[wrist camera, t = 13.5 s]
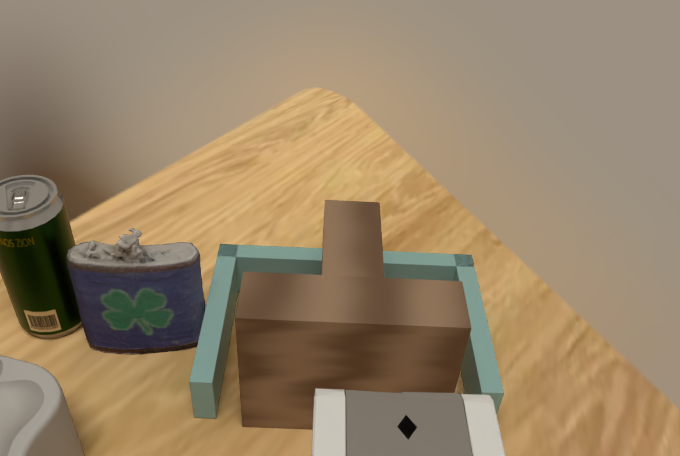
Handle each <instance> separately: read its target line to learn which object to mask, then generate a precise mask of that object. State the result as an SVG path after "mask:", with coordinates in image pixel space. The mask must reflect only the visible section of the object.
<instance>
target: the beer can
mask: <svg viewBox="0 0 680 456" xmlns="http://www.w3.org/2000/svg"><path fill="white" fill-rule="evenodd" d="M73 246H75V241H74V238H73V234H72V230H71V226H70V223H69V219H68V215H67V212H66V208H65V204H64V200H63V196H62V195H61V194H60V193H59V192H58V191H57V188H56V185H55V184H54V183H53V182H52V181H51V180H50V179H47V178H45V177H43V176H37V175H20V176H14V177H9V178H7V179H4V180H1V181H0V273H1V275H2V278H3V281H4V283H5V286H6V289H7V291H8V294H9V297H10V299H11V302H12V304H13V307H14V310H15V312H16V315H17V318H18V320H19V323H20V324H21V326H22V327H23V328H24V329H25V330H26V331H28V332H29V333H31V334H33V335H34V336H36V337H40V338H45V339H48V338H58V337H62V336H65V335H68V334H70V333H72V332H74V331H75V330H76V329H78V328H79V327H80V326H81V325H82V321H81V316H80V313H79V307H78V304H77V300H76V295H75V292H74V289H73V284H72V281H71V278H70V274H69V270H68V268H67V262H66V256H67V254H68V250H69V249H70V248H72V247H73Z"/></svg>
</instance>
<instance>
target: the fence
mask: <svg viewBox="0 0 680 456" xmlns="http://www.w3.org/2000/svg"><path fill="white" fill-rule="evenodd" d="M322 250H323V248H300V247H277V246H254V245H231V244H220V247H219V251H218V255H217V260H216V264H215V269H214V273H213V278H212V282H211V287H210V291H209V296H208V300H207V305H206V309H205V314H204V318H203V323H202V327H201V332H200V336H199V341H198V345H197V350H196V354H195V359H194V363H193V368H192V372H191V377H190V381H189V383H190V390H191V397H192V404H193V411H194V418H216V416H217V410H218V404H219V399H220V393H221V387H222V382H223V376H224V370H225V364H226V359H227V353H228V347H229V341H230V336H231V330H232V324H233V318H234V313H235V307H236V301H237V295H238V292H240V288H241V282H242V277H243V272H265V273H288V274H310V275H321V269H322ZM383 262H384V277H385V278H400V279H422V280H445V281H462V283H463V288H464V293H465V298H466V303H467V308H468V313H469V318H470V323H471V328H472V329H471V332H470V336H469V340H468V343H467V347H466V351H465V354H464V358H463V362H462V365H461V374H462V379H463V385H464V391H465V394H483V395H490V396H491V398H492V400H493V401H494V406H495V410H496V415H497V412H498V409H499V406H500V403H501V401H502V398H503V395H504V391H503V387H502V382H501V378H500V374H499V370H498V365H497V361H496V357H495V353H494V348H493V344H492V340H491V335H490V331H489V327H488V323H487V318H486V314H485V310H484V306H483V301H482V297H481V293H480V289H479V284H478V280H477V276H476V272H475V267H474V263H473V259H472V255H463V254H439V253H416V252H393V251H383Z"/></svg>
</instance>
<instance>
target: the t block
mask: <svg viewBox="0 0 680 456" xmlns="http://www.w3.org/2000/svg"><path fill="white" fill-rule="evenodd" d="M235 323H236V338H237V353H238V368H239V382H240V397H241V412H242V427H263V428H289V429H313V412H314V395H315V389H316V388H317V389H344V390H358V391H376V392H394V393H402V392H432V393H454V391H455V388H456V384H457V380H458V376H459V373H460V369H461V365H462V362H463V358H464V354H465V351H466V347H467V343H468V340H469V336H470V332H471V329H472V328H471V323H470V318H469V313H468V308H467V303H466V298H465V293H464V288H463V283H462V281H445V280H422V279H400V278H385V277H384V262H383V248H382V233H381V218H380V204H379V203H378V202H357V201H337V200H325V211H324V230H323V250H322V269H321V275H310V274H288V273H265V272H243V277H242V282H241V288H240V294H239V299H238V305H237V310H236V316H235Z"/></svg>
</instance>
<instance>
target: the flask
mask: <svg viewBox="0 0 680 456" xmlns="http://www.w3.org/2000/svg"><path fill="white" fill-rule="evenodd" d="M129 231H131V232H133V234H132V235H127V234H123V235H122V236H119V238H120V240H119V241H118V242H117V243H118V244H115V245H108V244H105V243H99V242H96V241H91V242H84V243H80V244H79V245H75V246H73V247H72V248H70V249H69V250H68V254H67V256H66V262H67V268H68V270H69V274H70V278H71V281H72V284H73V289H74V292H75V295H76V300H77V304H78V307H79V313H80V316H81V321H82V326H83V328H84V332H85V334H86V337H87V340H88V343H89V346H90V348H92V349H94V350H95V351H100V352H105V353H107V352H108V353H116V354H117V353H118V354H122V353H123V354H138V353H139V354H142V353H143V354H144V353H148V352H151V353H156V352H168V351H175V350H176V351H177V350H185V349H189V348H192V347H195V346H197V345H198V341H199V336H200V332H201V327H202V323H203V318H204V314H205V300H204V295H203V288H202V278H201V268H200V254H199V251H198V250H197V248H196V247H195V246H193V244H192V243H186V242H178V243H173V244H163V245H145V246H140V245H139V239H138V237H139V236H141V234H142V232H141V231H140V230H135V229H134V228H131V229H129Z"/></svg>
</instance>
